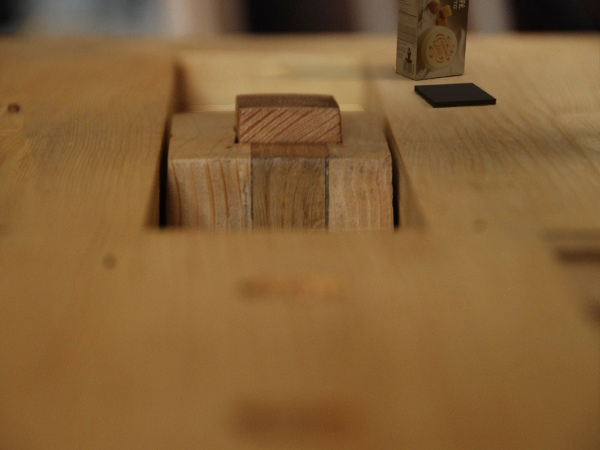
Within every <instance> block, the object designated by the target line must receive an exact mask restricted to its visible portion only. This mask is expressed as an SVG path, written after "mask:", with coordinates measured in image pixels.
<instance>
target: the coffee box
mask: <svg viewBox="0 0 600 450" xmlns="http://www.w3.org/2000/svg"><path fill="white" fill-rule="evenodd" d="M397 1H398V2H397V24H396V25H397V26H396V50H395V51H396V54H395V72H396V73H398V74H400V75H402V76H405V77H407V78H409V79H412V80H414V81H421V80H426V79H427V80H428V79H435V78H442V77H443V78H444V77H449V76H459V75H464V74H465V67H466V66H465V64H466V49H467V36H468V21H469V9H470V8H469V7H470V6H469V5H470V0H397Z"/></svg>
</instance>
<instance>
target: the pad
mask: <svg viewBox="0 0 600 450" xmlns="http://www.w3.org/2000/svg"><path fill="white" fill-rule="evenodd" d="M413 91H414V92H415V93H416V94H418V95H419V96H420V97H421V98H422V99H423V100H425V102H427V103H428V104H429V105H430V106H432V107H433V108H434V109H435V108H452V107H453V108H454V107H470V106H471V107H472V106H490V105H492V106H493V105H496V104H497V98H496V97H494V96H493V95H491V94H490V93H489V92H487V91H486V90H484V89H482V88H481V87H480V86H478V85H477V84H475V83H474V82H461V83H459V82H458V83H441V84H439V83H438V84H437V83H436V84H435V83H434V84H416V85H414V86H413Z"/></svg>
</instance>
